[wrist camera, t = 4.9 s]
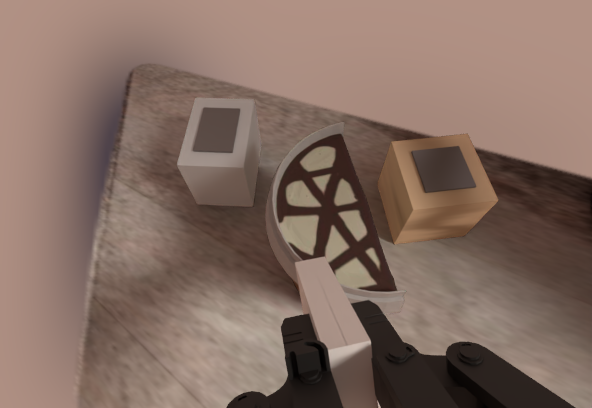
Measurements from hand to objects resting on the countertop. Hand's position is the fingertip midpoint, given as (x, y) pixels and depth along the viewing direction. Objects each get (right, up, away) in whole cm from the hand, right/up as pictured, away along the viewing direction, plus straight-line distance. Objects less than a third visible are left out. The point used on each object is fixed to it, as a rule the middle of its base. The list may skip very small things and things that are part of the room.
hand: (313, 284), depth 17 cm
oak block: (+10, +4, +14) cm, 17 cm away
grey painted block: (-7, +7, +16) cm, 19 cm away
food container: (0, -1, +11) cm, 11 cm away
